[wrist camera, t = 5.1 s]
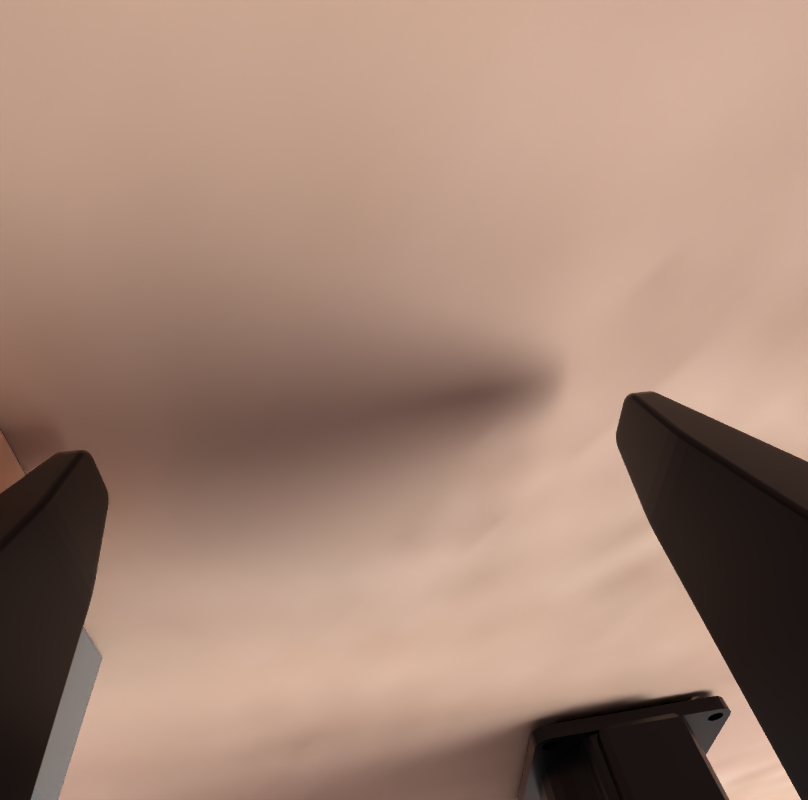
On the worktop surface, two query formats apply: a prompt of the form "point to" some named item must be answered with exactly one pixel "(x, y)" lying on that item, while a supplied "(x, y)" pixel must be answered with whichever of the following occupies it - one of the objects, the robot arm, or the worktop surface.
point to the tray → (68, 720)
